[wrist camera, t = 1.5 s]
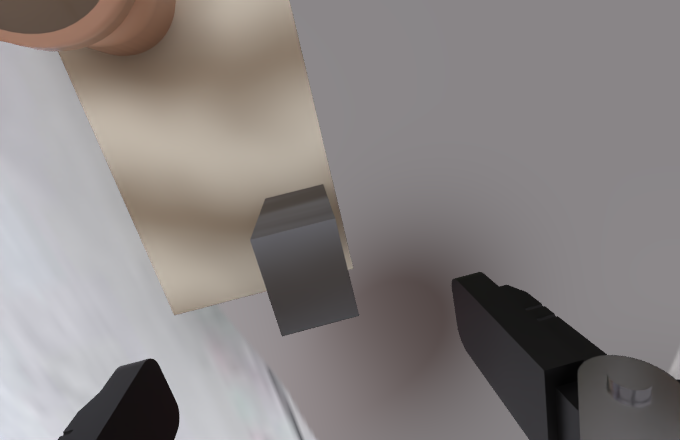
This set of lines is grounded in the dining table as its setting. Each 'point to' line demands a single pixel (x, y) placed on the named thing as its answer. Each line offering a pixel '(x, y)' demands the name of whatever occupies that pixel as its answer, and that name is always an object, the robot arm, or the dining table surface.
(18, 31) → the terracotta pot
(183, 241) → the birch board
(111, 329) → the dining table surface
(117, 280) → the dining table surface
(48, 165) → the dining table surface
